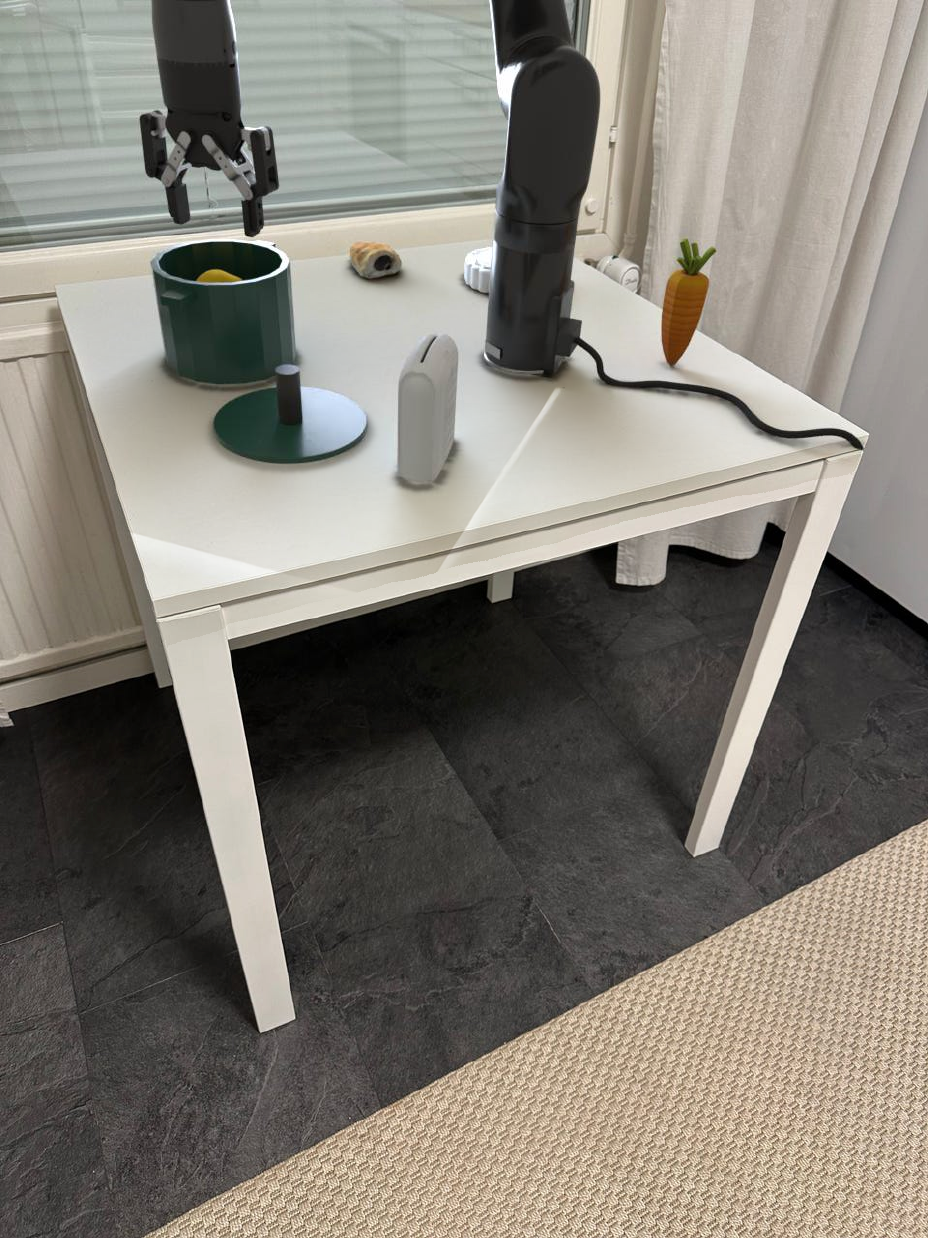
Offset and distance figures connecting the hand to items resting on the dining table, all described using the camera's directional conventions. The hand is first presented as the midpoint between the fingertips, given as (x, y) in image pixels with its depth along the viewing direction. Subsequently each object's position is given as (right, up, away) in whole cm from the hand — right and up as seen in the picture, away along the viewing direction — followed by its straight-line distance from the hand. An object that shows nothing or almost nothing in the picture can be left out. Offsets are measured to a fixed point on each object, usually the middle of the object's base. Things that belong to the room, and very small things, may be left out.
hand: (217, 228), depth 98 cm
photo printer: (+22, -26, -6) cm, 35 cm away
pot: (-1, -11, +9) cm, 15 cm away
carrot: (+52, -11, +15) cm, 55 cm away
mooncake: (+32, +7, +34) cm, 48 cm away
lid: (+8, -22, -3) cm, 23 cm away
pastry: (+13, +9, +36) cm, 39 cm away
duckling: (-1, -11, +9) cm, 15 cm away
